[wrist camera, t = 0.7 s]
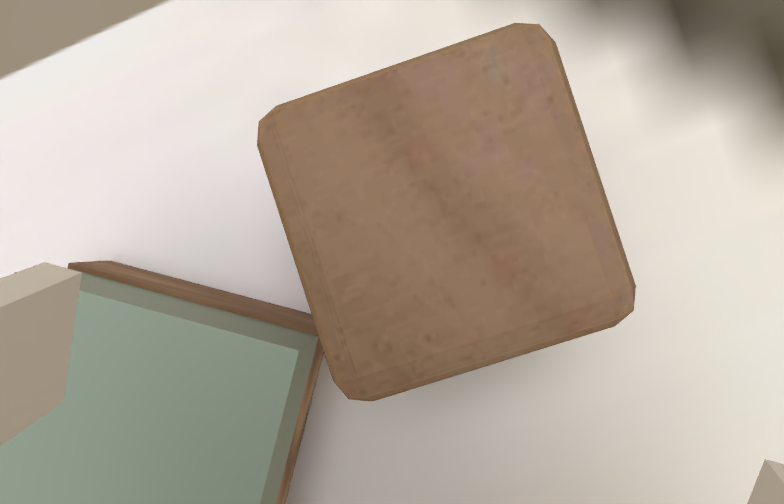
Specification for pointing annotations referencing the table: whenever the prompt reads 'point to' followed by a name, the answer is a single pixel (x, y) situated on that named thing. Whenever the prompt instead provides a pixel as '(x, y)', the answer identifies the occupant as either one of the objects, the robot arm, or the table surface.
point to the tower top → (163, 406)
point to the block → (446, 213)
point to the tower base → (231, 304)
